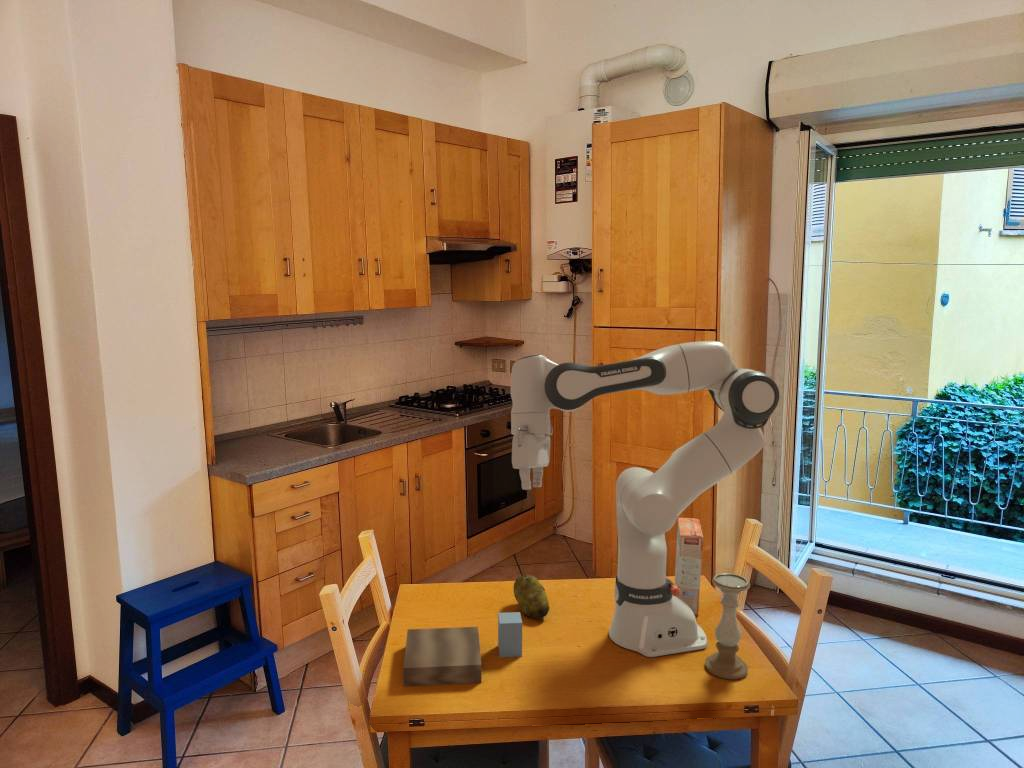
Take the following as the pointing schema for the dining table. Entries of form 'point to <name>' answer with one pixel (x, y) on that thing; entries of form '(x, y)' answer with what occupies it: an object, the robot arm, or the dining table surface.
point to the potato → (531, 596)
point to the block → (510, 634)
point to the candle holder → (728, 629)
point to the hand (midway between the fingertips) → (532, 488)
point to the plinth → (442, 656)
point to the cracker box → (689, 561)
